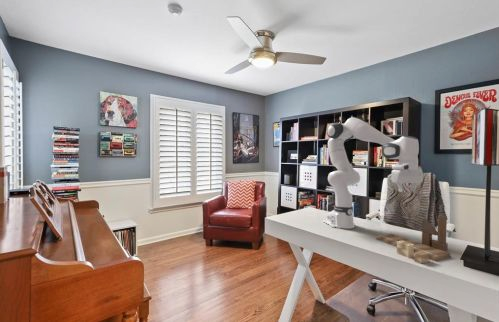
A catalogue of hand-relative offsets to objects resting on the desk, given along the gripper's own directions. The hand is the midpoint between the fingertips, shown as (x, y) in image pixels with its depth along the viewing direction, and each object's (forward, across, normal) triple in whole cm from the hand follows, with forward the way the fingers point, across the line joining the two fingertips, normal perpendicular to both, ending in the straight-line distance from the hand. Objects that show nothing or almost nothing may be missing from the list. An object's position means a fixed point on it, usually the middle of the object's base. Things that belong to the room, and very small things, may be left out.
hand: (406, 191), depth 133 cm
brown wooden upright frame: (+30, -12, +8) cm, 33 cm away
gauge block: (+30, +11, +9) cm, 33 cm away
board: (+30, 0, +3) cm, 30 cm away
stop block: (+30, +11, +17) cm, 36 cm away
